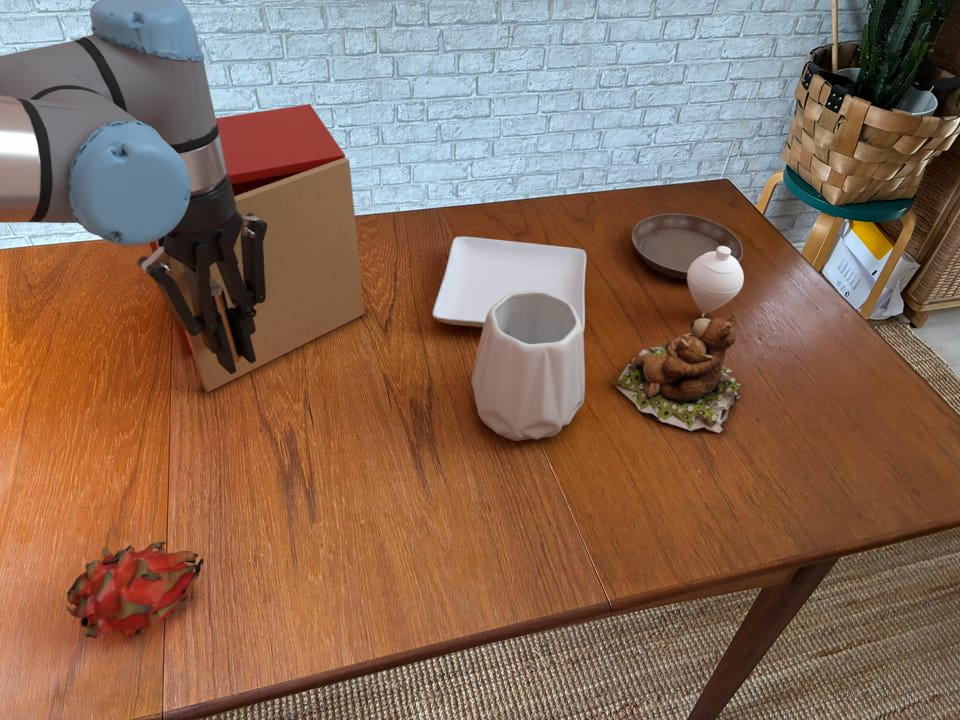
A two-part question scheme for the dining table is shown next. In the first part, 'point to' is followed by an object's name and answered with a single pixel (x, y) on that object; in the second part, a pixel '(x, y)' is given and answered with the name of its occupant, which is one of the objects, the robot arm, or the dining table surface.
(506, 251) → the plate
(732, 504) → the dining table surface
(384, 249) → the dining table surface
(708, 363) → the bear figurine
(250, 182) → the cabinet
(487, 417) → the vase
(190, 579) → the dragon fruit
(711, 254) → the spinning top
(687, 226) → the plant saucer
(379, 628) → the dining table surface
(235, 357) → the cabinet door
